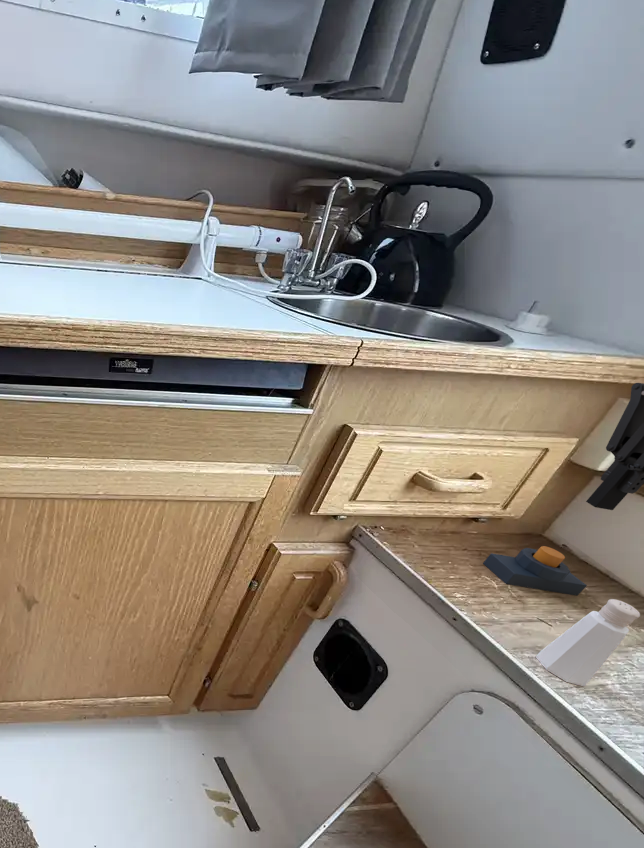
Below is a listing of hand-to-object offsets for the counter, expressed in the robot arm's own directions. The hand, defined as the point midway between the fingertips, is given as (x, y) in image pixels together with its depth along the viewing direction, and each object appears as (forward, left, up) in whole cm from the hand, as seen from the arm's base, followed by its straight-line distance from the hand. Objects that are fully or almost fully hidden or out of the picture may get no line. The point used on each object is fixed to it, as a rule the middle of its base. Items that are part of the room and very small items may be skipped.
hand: (599, 505), depth 79 cm
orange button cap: (-1, -1, -11) cm, 11 cm away
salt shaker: (+12, +19, -15) cm, 27 cm away
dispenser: (-1, -1, -15) cm, 15 cm away
